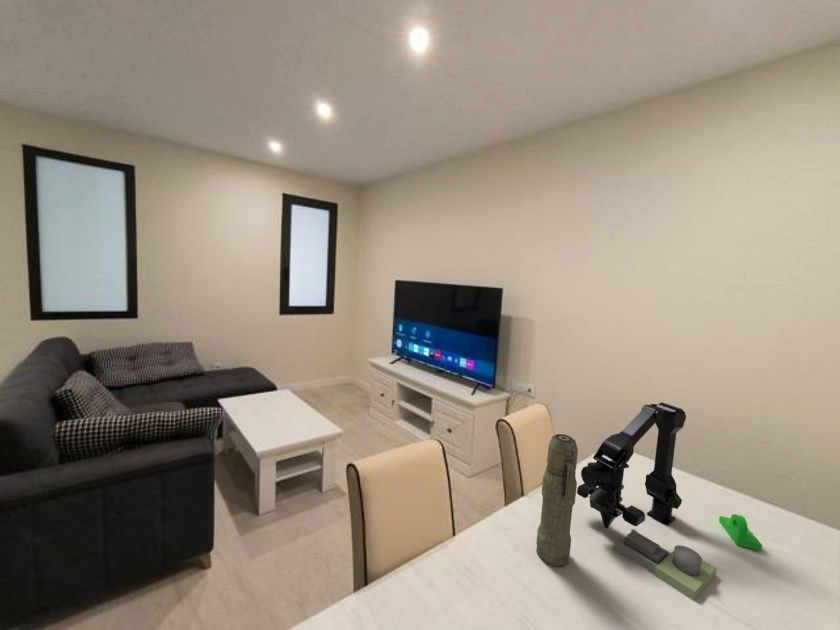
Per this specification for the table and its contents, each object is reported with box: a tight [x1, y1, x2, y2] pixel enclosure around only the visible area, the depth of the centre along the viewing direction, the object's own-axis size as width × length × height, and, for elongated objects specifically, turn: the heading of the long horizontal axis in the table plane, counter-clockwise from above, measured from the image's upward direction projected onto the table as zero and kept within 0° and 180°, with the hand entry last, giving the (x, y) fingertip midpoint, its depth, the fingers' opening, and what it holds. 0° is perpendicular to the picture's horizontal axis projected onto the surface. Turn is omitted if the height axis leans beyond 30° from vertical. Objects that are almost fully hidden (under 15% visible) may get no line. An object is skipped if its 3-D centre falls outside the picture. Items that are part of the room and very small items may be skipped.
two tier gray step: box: [622, 530, 666, 565], centre depth 102 cm, size 5×9×5 cm, turn 34°
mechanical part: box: [718, 513, 763, 551], centre depth 115 cm, size 12×6×8 cm, turn 161°
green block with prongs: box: [612, 528, 717, 601], centre depth 101 cm, size 16×20×6 cm
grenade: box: [535, 433, 579, 569], centre depth 99 cm, size 9×12×35 cm
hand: (606, 527), depth 112 cm, fingers closed
